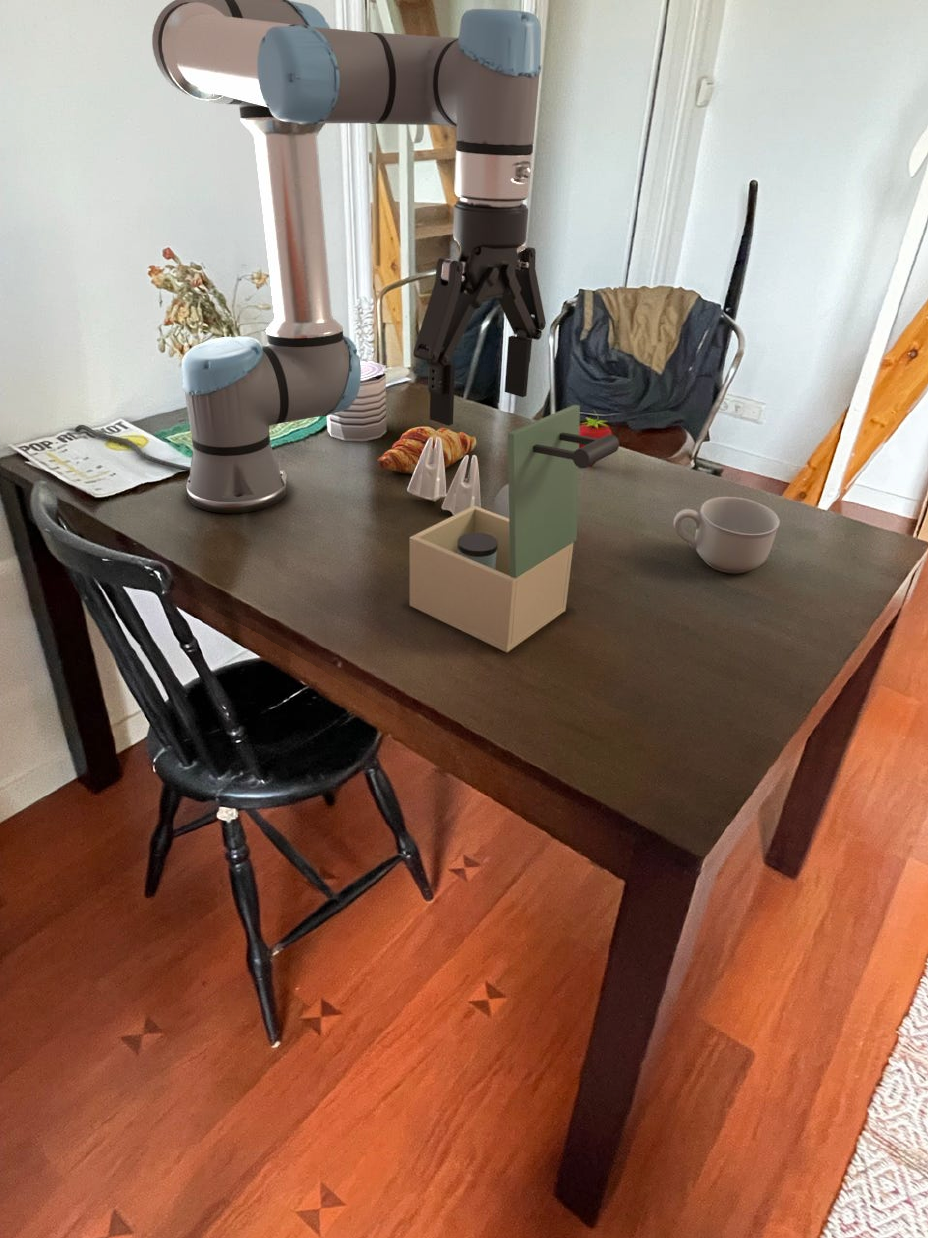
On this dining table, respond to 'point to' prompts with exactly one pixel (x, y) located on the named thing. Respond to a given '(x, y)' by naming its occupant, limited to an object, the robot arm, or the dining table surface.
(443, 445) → the croissant
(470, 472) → the shaker set
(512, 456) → the lid
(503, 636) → the tan storage tray
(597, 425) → the strawberry
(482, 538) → the coffee tin
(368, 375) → the can
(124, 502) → the dining table surface
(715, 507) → the teacup
